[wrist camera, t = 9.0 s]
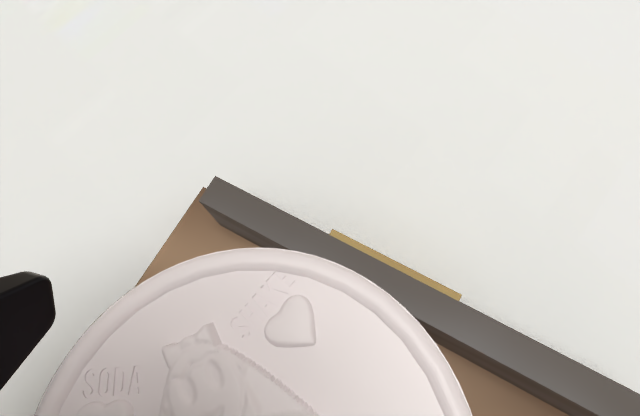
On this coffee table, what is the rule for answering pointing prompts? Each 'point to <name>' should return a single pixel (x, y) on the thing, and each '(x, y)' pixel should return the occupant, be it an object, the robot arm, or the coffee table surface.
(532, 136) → the coffee table surface
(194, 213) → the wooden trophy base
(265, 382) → the smoothie
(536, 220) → the coffee table surface
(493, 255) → the coffee table surface
